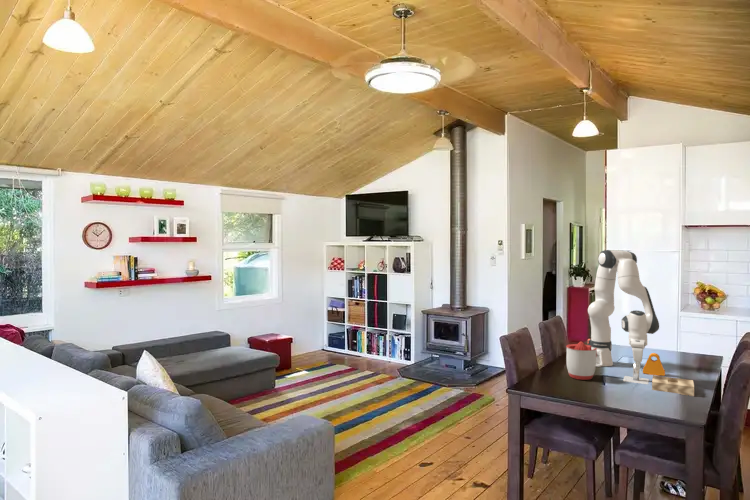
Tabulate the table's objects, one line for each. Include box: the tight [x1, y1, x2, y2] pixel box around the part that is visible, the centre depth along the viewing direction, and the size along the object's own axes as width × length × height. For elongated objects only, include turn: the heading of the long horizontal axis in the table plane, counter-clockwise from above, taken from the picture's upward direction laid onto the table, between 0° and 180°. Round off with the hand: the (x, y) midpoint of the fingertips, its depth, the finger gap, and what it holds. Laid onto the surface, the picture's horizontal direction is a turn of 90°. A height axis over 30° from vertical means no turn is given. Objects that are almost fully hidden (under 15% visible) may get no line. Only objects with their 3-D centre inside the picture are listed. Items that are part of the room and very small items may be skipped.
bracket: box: [642, 352, 666, 377], centre depth 288 cm, size 11×7×12 cm, turn 59°
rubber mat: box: [622, 375, 650, 385], centre depth 275 cm, size 12×12×1 cm
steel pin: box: [632, 362, 640, 381], centre depth 275 cm, size 3×3×9 cm
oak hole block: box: [651, 375, 695, 397], centre depth 259 cm, size 18×14×4 cm
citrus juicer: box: [565, 341, 599, 381], centre depth 281 cm, size 16×17×20 cm
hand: (638, 367), depth 274 cm, fingers open, 8 cm apart
